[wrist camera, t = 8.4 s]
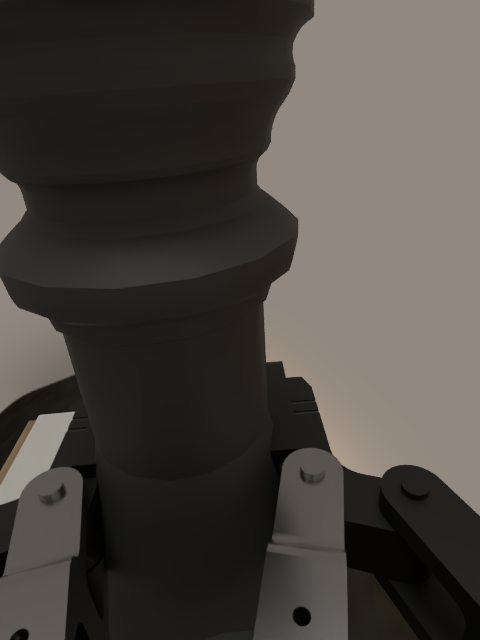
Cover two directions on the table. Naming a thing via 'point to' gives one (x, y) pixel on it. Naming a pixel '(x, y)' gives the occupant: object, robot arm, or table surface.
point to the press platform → (35, 454)
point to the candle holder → (158, 276)
